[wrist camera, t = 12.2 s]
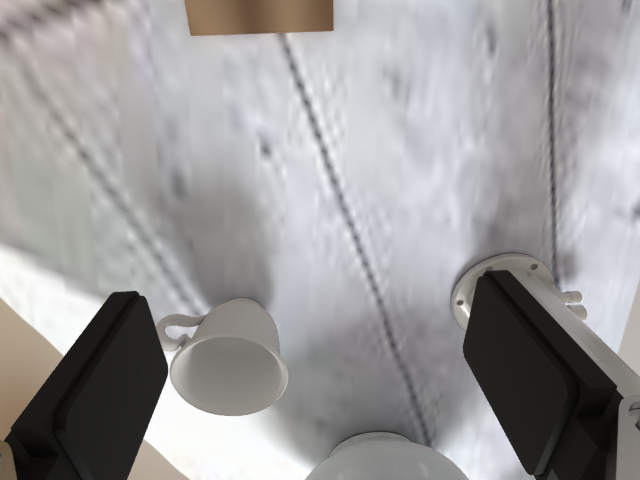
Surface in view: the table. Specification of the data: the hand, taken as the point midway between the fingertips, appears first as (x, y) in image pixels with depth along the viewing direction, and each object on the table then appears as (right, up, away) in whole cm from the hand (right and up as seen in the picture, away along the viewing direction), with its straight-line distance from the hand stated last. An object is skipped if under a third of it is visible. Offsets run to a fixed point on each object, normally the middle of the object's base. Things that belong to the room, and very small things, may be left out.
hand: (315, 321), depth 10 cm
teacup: (-11, -6, +35) cm, 37 cm away
